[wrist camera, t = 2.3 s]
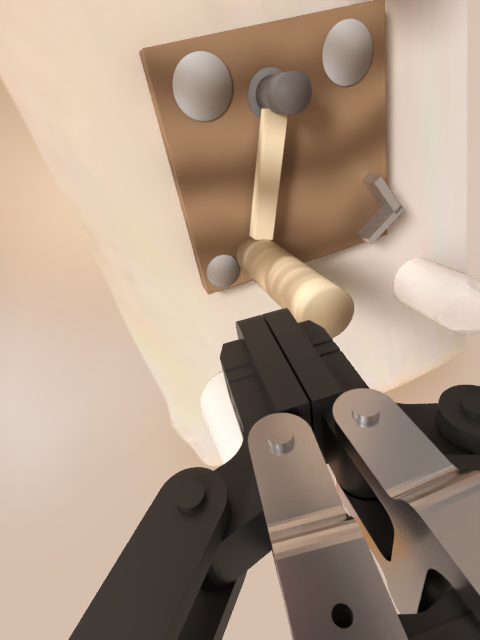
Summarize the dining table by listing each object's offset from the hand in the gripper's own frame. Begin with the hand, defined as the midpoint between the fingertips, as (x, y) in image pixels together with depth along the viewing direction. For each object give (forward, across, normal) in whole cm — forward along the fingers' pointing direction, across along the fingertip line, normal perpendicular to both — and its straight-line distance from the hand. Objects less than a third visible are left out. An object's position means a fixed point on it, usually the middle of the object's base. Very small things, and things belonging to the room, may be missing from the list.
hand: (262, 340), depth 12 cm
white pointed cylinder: (+27, -24, +19) cm, 41 cm away
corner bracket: (+25, -17, +8) cm, 31 cm away
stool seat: (+27, -9, +2) cm, 28 cm away
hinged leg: (+24, -7, +3) cm, 25 cm away
